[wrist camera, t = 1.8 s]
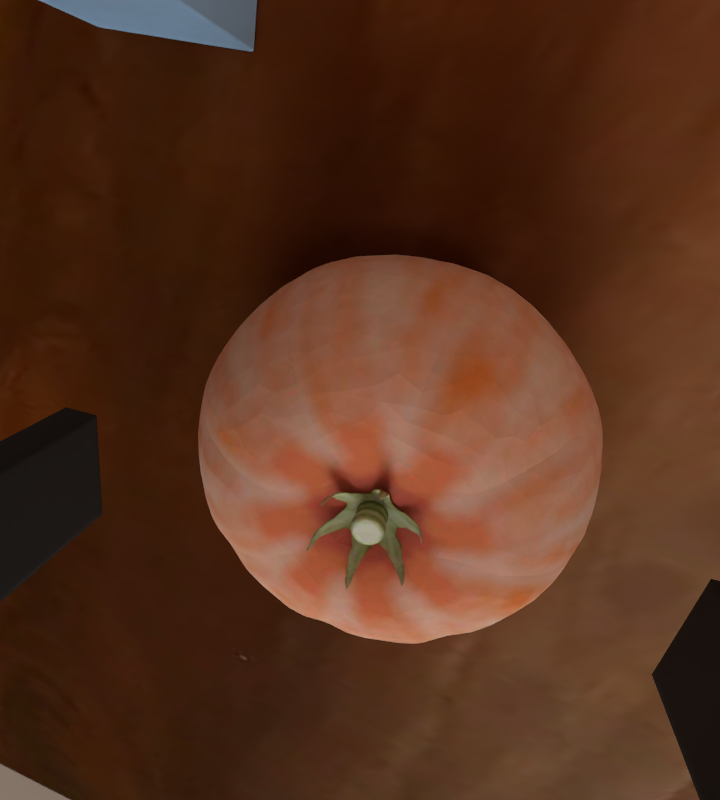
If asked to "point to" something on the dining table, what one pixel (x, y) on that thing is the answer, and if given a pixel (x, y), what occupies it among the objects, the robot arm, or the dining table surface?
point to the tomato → (400, 448)
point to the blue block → (172, 19)
